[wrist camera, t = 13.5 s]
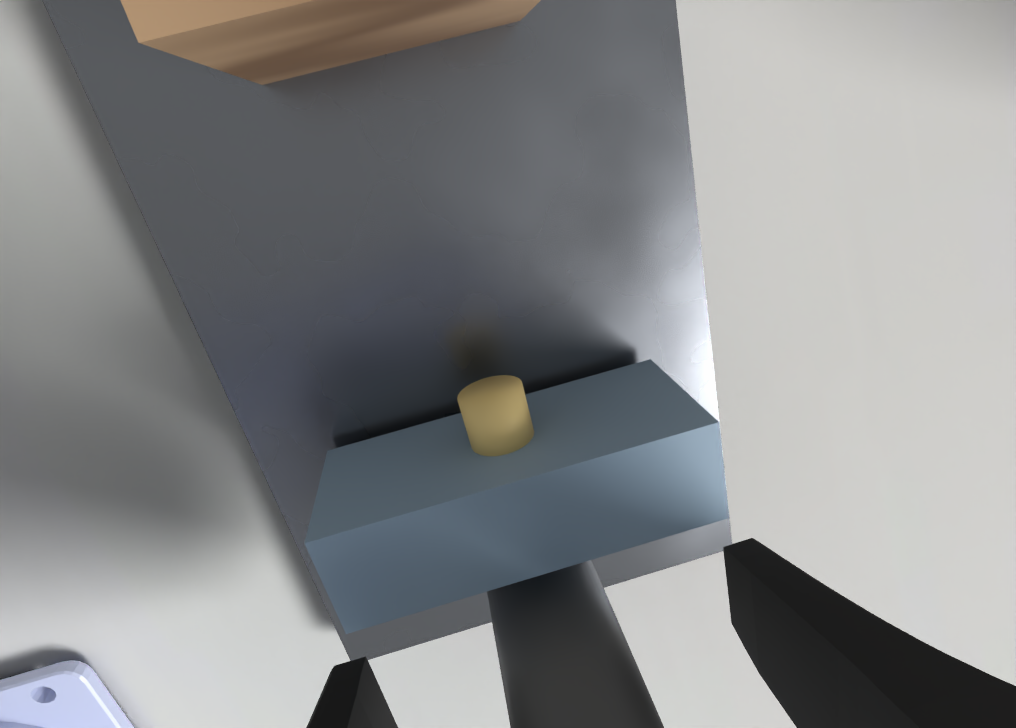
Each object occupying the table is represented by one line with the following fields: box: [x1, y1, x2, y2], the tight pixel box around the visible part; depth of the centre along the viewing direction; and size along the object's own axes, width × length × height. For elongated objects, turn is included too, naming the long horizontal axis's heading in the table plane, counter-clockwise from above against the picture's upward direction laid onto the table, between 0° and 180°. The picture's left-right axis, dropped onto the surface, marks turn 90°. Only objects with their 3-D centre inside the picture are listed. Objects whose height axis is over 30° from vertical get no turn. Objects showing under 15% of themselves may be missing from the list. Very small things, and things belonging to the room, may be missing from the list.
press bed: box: [43, 0, 732, 661], centre depth 10 cm, size 20×10×4 cm, turn 13°
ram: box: [304, 359, 729, 728], centre depth 10 cm, size 6×7×6 cm
